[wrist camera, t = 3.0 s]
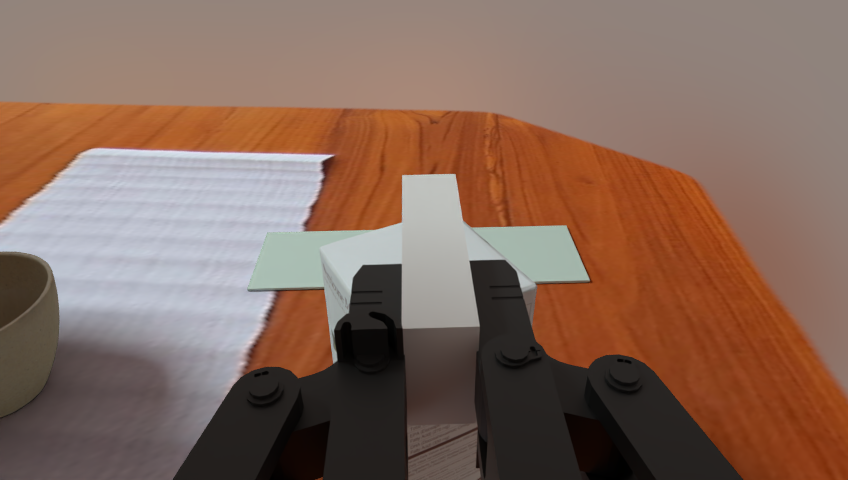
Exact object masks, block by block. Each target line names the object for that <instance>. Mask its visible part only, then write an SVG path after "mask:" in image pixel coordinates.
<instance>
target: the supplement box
mask: <svg viewBox="0 0 848 480" xmlns="http://www.w3.org/2000/svg"><path fill="white" fill-rule="evenodd" d="M463 225H464V231H465V238H466V244H467V250H468V256H469V261H470V260H506V261H507V262H508V263H509V264H510V265H511V266H512V267H513V268H514V269H515V270H516V271H517V275H518V278H519V282H520V288H521V289H522V293H523V299H524V300H525V304H526V308H527V311H528V315H529V319H530V322H531V326H532V322H533V314H534V306H535V298H536V291H537V285H536V284H535V282H534V281H533V280H532V279H530V278H529V277H528V276H527V275H526V274H525V273H523V272H522V271H521V270H520V269H518V268H517V267H516V266H515V265H514V264H513V263H512V262H510V261H509V260H508V259H507V258H506V257H505V256H503V255H502V254H501V253H500V252H499V251H498V250H496V249H495V248H494V247H493V246H492V245H491V244H490V243H489V242H488V241H487V240H485V239H484V238H483V237H481V236H480V235H479V234H478V233H477V232H476V231H474V230H473V229H472V228H471V227H470V226H469V225H467V224H466V223H465V222H464V221H463ZM319 251H320V257H321V265H322V273H323V281H324V289H325V297H326V305H327V313H328V322H329V330H330V339H331V348H332V356H333V364H334V363H335V362H336V361H337V352H336V344H335V336H334V329H335V326H336V324H337V322H338V321H339V320H340V319H341V318H342V317H343V316H345V315H346V314H348V313H349V306H350V297H351V289H352V281H353V277H354V275H355V274H356V273H357V272H358V270H359V269H360V268H361V267H362V265H377V264H402V223H399V224H395V225H392V226H389V227H385V228H382V229H378V230H374V231H371V232H368V233H364V234H361V235H357V236H354V237H350V238H347V239H343V240H339V241H336V242H333V243H330V244H327V245H324V246H321V247H320V248H319ZM477 431H478V426H477V418H476V422H475V424H444V425H413V426H407V437H408V480H481V475H480V468H476V452H477Z"/></svg>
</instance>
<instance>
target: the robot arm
mask: <svg viewBox="0 0 848 480" xmlns="http://www.w3.org/2000/svg"><path fill="white" fill-rule="evenodd" d="M334 336H335V344H336V352H337V361H336V362H335V363H334V364H333V365H332V366H330V367H328V368H327V369H325V370H323V371H321V372H318V373H315V374H313V375H309V376H306V377H302V378H297V377H296V376H295V375H294V374H293V373H292V372H291V371H290V370H287V369H284V368H280V367H264V368H261V369H257V370H253V371H251V372H250V373H248V374H246V375H244V376H243V377H241V378H240V379H239V380H238V381H237V382H236V383H235V384H234V385H233V387H232V388H231V390H230V391H229V393H228V394H227V396H226V397H225V399H224V401H223V402H222V404H221V405H220V407H219V408H218V410H217V411H216V413H215V415H214V416H213V418H212V419H211V421H210V422H209V424H208V425H207V427H206V429H205V430H204V432H203V433H202V435H201V436H200V438H199V439H198V441H197V443H196V444H195V446H194V447H193V449H192V450H191V452H190V453H189V455H188V457H187V458H186V460H185V461H184V463H183V464H182V466H181V467H180V469H179V470H178V472H177V474H176V475H175V477H174V478H173V480H315V479H318V478H321V477H323V480H408V437H407V426H413V425H444V424H475V422H476V418H477V426H478V431H477V452H476V468H480V475H481V480H743V479H742V478H741V476H740V475H739V474H738V473H737V472H736V470H735V469H734V468H733V467H732V465H731V464H730V463H729V462H728V461H727V459H726V458H725V457H724V456H723V455H722V453H721V452H720V451H719V450H718V449H717V447H716V446H715V445H714V444H713V442H712V441H711V440H710V439H709V438H708V436H707V435H706V434H705V433H704V432H703V430H702V429H701V428H700V427H699V426H698V424H697V423H696V422H695V421H694V419H693V418H692V417H691V416H690V415H689V413H688V412H687V411H686V410H685V409H684V407H683V406H682V405H681V404H680V403H679V401H678V400H677V399H676V398H675V396H674V395H673V394H672V393H671V392H670V390H669V389H668V388H667V387H666V386H665V384H664V383H663V382H662V381H661V380H660V378H659V377H658V376H657V375H656V374H655V372H654V371H653V370H651V369H650V368H649V367H648V366H647V365H646V364H645V363H643V362H641V361H639V360H636V359H634V358H632V357H628V356H623V355H605V356H603V357H600V358H598V359H595V361H594V362H593V363H592V364H591V365H590V366H589V369H587V368H583V367H578V366H573V365H569V364H566V363H562V362H559V361H557V360H555V359H553V358H551V357H550V356H548V355H547V354H546V352H545V351H544V349H543V347H542V346H541V345H540V344H538V343H537V342H536V340H535V337H534V334H533V330H532V326H531V322H530V319H529V315H528V311H527V308H526V304H525V300H524V299H523V293H522V289H521V288H520V282H519V278H518V275H517V271H516V270H515V269H514V268H513V267H512V266H511V265H510V264H509V263H508V262H507V261H506V260H470V261H469V256H468V250H467V244H466V238H465V231H464V225H463V219H462V213H461V207H460V200H459V194H458V188H457V182H456V176H455V174H435V175H402V264H377V265H362V267H361V268H360V269H359V270H358V272H357V273H356V274H355V275H354V277H353V281H352V289H351V297H350V306H349V313H348V314H346V315H345V316H343V317H342V318H341V319H340V320H339V321H338V322H337V324H336V326H335V329H334Z"/></svg>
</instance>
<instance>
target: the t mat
mask: <svg viewBox="0 0 848 480" xmlns="http://www.w3.org/2000/svg"><path fill="white" fill-rule="evenodd" d="M472 229H473V230H474V231H476V232H477V233H478V234H479V235H480V236H481V237H483V238H484V239H485V240H487V241H488V242H489V243H490V244H491V245H492V246H493V247H494V248H495V249H496V250H498V251H499V252H500V253H501V254H502V255H503V256H505V257H506V258H507V259H508V260H509V261H510V262H512V263H513V264H514V265H515V266H516V267H517V268H518V269H520V270H521V271H522V272H523V273H525V274H526V275H527V276H528V277H529V278H530V279H532V280H533V281H534V282H535V284H542V283H581V282H590V279H589V277H588V275H587V273H586V270H585V268H584V266H583V263H582V261H581V259H580V256H579V254H578V252H577V249H576V247H575V245H574V243H573V240H572V238H571V236H570V233H569V231H568V229H567V226H527V227H485V228H472ZM371 231H374V230H358V231H315V232H273V233H267V235H266V238H265V241H264V243H263V246H262V249H261V252H260V255H259V257H258V260H257V263H256V266H255V269H254V271H253V274H252V277H251V280H250V283H249V285H248V288H247V290H248V291H266V290H305V289H324V281H323V273H322V265H321V257H320V251H319V248H320V247H321V246H324V245H327V244H330V243H333V242H336V241H339V240H343V239H347V238H350V237H354V236H357V235H361V234H364V233H368V232H371Z"/></svg>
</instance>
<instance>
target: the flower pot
mask: <svg viewBox="0 0 848 480" xmlns="http://www.w3.org/2000/svg"><path fill="white" fill-rule="evenodd" d="M58 335H59V303H58V294H57V289H56V284H55V280H54V276H53V273H52V270H51V268H50V266H49V265H48V263H47V262H46V261H44V260H43V259H41V258H39V257H37V256H35V255H31V254H27V253H21V252H0V417H3V416H6V415H8V414H11V413H13V412H15V411H17V410H18V409H20V408H21V407H23V406H25V405H26V404H27V403H29V402H30V401H31V400H33V399H34V398H35V397H36V396H37V395H38V394H39V393H40V392H41V390H42V389H43V387H44V386H45V384H46V382H47V379H48V377H49V374H50V371H51V368H52V365H53V362H54V358H55V354H56V349H57V343H58Z"/></svg>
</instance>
